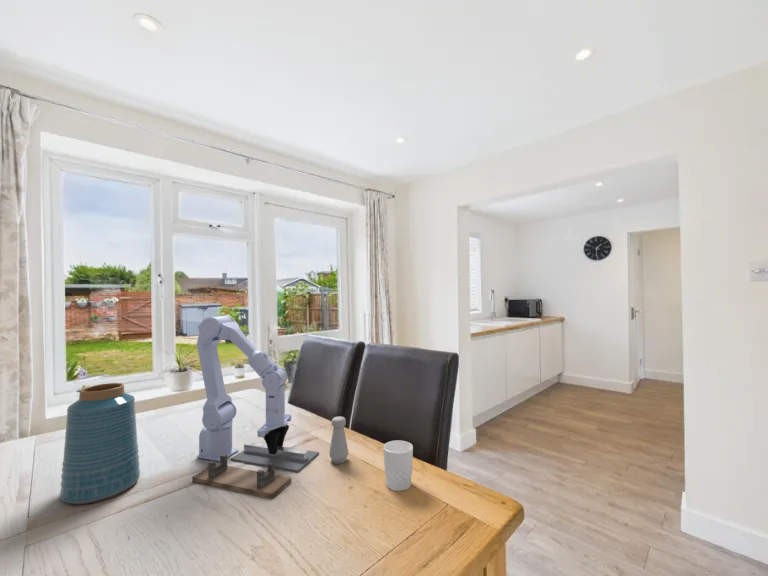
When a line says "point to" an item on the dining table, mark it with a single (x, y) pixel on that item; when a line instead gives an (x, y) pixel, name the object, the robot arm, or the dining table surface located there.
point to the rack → (243, 479)
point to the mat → (273, 460)
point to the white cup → (398, 464)
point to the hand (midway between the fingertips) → (275, 451)
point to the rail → (280, 453)
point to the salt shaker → (338, 441)
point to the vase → (100, 445)
